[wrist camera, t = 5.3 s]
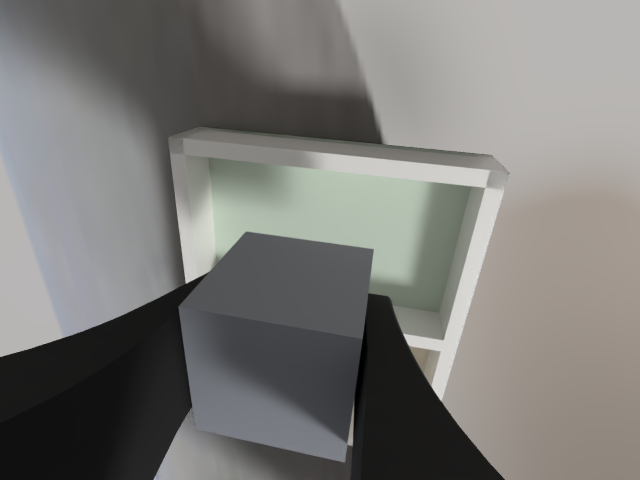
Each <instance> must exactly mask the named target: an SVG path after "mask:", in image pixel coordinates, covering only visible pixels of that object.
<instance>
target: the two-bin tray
mask: <svg viewBox="0 0 640 480" xmlns="http://www.w3.org/2000/svg"><path fill="white" fill-rule="evenodd" d="M168 142H169V151H170V159H171V167H172V175H173V183H174V191H175V199H176V208H177V216H178V224H179V232H180V240H181V248H182V256H183V264H184V273H185V281H186V284H187V283H188V282H190V281H192V280H194V279H196V278H198V277H200V276H202V275H204V274H206V273H208V272H210V271H211V270H212V269H213V268H214V266H215V265H216V264H217V263H218V262H219V261H220V260H221V259H222V258H223V256H224V255H225V254H226V253H227V252H228V251H229V250H230V249H231V247H232V246H233V245H234V244H235V243H236V242H237V241H238V240H239V239H240V237H241V236H242V235H243V234H244V233H245V232H246V231H247V232H254V233H261V234H269V235H276V236H283V237H290V238H297V239H305V240H312V241H319V242H326V243H333V244H341V245H348V246H355V247H362V248H369V249H374V252H373V260H372V268H371V276H370V284H369V292H368V293H371V294H377V295H384V296H388V297H389V298H390V299H391V301H392V305H393V309H394V312H395V315H396V318H397V320H398V323H399V325H400V328H401V330H402V332H403V335H404V337H405V339H406V341H407V343H408V345H409V347H410V349H411V352H412V353H413V355H414V357H415V359H416V361H417V363H418V365H419V366H420V368H421V370H422V372H423V373H424V375H425V377H426V379H427V380H428V382H429V383H430V385H431V387H432V388H433V390H434V391H435V393H436V394H437V396H438V397H439V399H440V400H441V401H442V398H443V395H444V391H445V388H446V384H447V381H448V378H449V374H450V371H451V367H452V364H453V361H454V357H455V354H456V351H457V347H458V344H459V340H460V337H461V334H462V331H463V327H464V323H465V320H466V317H467V314H468V310H469V307H470V304H471V300H472V297H473V293H474V290H475V287H476V283H477V280H478V276H479V273H480V270H481V267H482V263H483V260H484V257H485V253H486V250H487V246H488V243H489V240H490V236H491V233H492V229H493V226H494V223H495V219H496V216H497V213H498V209H499V206H500V203H501V199H502V196H503V192H504V189H505V186H506V182H507V179H508V175H509V171H508V170H507V169H506V168H505V167H504V166H502V165H501V164H500V163H499V162H498V161H497V160H496V159H495V158H494V157H493V156H492V155H485V154H475V153H464V152H454V151H444V150H434V149H424V148H414V147H403V146H393V145H383V144H373V143H363V142H353V141H342V140H332V139H322V138H312V137H301V136H291V135H281V134H271V133H261V132H250V131H240V130H230V129H220V128H209V127H197V128H194V129H191V130H188V131H185V132H181V133H178V134H175V135H172V136H169V137H168ZM353 422H354V403H353V410H352V417H351V423H350V430H349V437H348V444H347V445H349V446H353Z"/></svg>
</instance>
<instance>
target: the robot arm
mask: <svg viewBox="0 0 640 480" xmlns="http://www.w3.org/2000/svg"><path fill="white" fill-rule="evenodd" d="M208 273H209V272H208ZM208 273H206V274H204V275H202V276H200V277H198V278H196V279H194V280H192V281H190V282H188V283H187V284H185V285H183V286H181V287H179V288H177V289H175V290H173V291H171V292H169V293H167V294H166V295H164V296H162V297H160V298H158V299H156V300H154V301H152V302H150V303H147V304H145V305H143V306H141V307H139V308H137V309H135V310H133V311H131V312H128V313H126V314H124V315H122V316H120V317H118V318H115V319H113V320H110V321H108V322H106V323H103V324H101V325H98V326H96V327H93V328H90V329H88V330H85V331H83V332H80V333H77V334H74V335H71V336H68V337H65V338H62V339H59V340H56V341H53V342H50V343H47V344H43V345H41V346H37V347H35V348H32V349H28V350H24V351H21V352H17V353H13V354H10V355H6V356H3V357H0V480H156V474H157V471H158V469H159V467H160V465H161V463H162V461H163V459H164V457H165V455H166V453H167V451H168V449H169V447H170V445H171V443H172V441H173V439H174V437H175V435H176V433H177V431H178V429H179V427H180V426H181V424H182V422H183V420H184V419H185V417H186V415H187V414H188V412H189V410H190V409H191V407H192V401H191V394H190V387H189V379H188V372H187V365H186V358H185V351H184V344H183V336H182V329H181V322H180V315H179V308H178V307H179V305H180V304H181V303H182V302H183V301H184V300H185V299H186V298H187V297H188V295H189V294H190V293H191V292H192V291H193V290H194V289H195V288H196V287H197V285H198V284H199V283H200V282H201V281H202V280H203V279H204V278H205V276H206V275H207V274H208ZM350 480H505V479H504V478H503V477H502V476H501V475H500V474H499V473H498V472H497V471H496V469H494V467H493V466H492V465H491V464H490V463H489V462H488V461H487V459H486V458H485V457H484V456H483V455H482V453H481V452H480V451H479V450H478V449H477V447H476V446H475V445H474V444H473V443H472V441H471V440H470V439H469V438H468V436H467V435H466V434H465V433H464V432H463V430H462V429H461V428H460V427H459V425H458V424H457V423H456V421H455V420H454V419H453V417H452V416H451V414H450V413H449V412H448V410H447V409H446V408H445V406H444V405H443V403H442V402H441V400H440V399H439V397H438V396H437V394H436V393H435V391H434V390H433V388H432V387H431V385H430V383H429V382H428V380H427V379H426V377H425V375H424V373H423V372H422V370H421V368H420V366H419V365H418V363H417V361H416V359H415V357H414V355H413V353H412V352H411V349H410V347H409V345H408V343H407V341H406V339H405V337H404V335H403V332H402V330H401V328H400V325H399V323H398V320H397V318H396V315H395V312H394V309H393V305H392V301H391V299H390V298H389V297H388V296H384V295H377V294H371V293H368V300H367V308H366V316H365V324H364V332H363V340H362V347H361V354H360V361H359V368H358V375H357V382H356V389H355V396H354V422H353V453H352V468H351V479H350Z"/></svg>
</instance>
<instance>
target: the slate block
mask: <svg viewBox="0 0 640 480" xmlns="http://www.w3.org/2000/svg"><path fill="white" fill-rule="evenodd" d="M373 252H374V249H369V248H362V247H355V246H348V245H341V244H333V243H326V242H319V241H312V240H305V239H297V238H290V237H283V236H276V235H269V234H261V233H254V232H247V231H246V232H245V233H244V234H243V235H242V236H241V237H240V239H239V240H238V241H237V242H236V243H235V244H234V245H233V246H232V247H231V249H230V250H229V251H228V252H227V253H226V254H225V255H224V256H223V258H222V259H221V260H220V261H219V262H218V263H217V264H216V265H215V266H214V268H213V269H212V270H211V271H210V272H209V273H208V274H207V275H206V276H205V278H204V279H203V280H202V281H201V282H200V283H199V284H198V285H197V287H196V288H195V289H194V290H193V291H192V292H191V293H190V294H189V295H188V297H187V298H186V299H185V300H184V301H183V302H182V303H181V304H180V305H179V307H178V308H179V315H180V322H181V329H182V336H183V344H184V351H185V358H186V365H187V372H188V379H189V387H190V394H191V401H192V408H193V415H194V422H195V429H197V430H201V431H206V432H210V433H215V434H219V435H224V436H228V437H233V438H237V439H241V440H246V441H250V442H255V443H259V444H264V445H268V446H273V447H277V448H282V449H286V450H291V451H295V452H300V453H304V454H309V455H313V456H318V457H322V458H326V459H331V460H335V461H340V462H344V463H345V458H346V451H347V444H348V437H349V430H350V423H351V417H352V410H353V403H354V396H355V389H356V382H357V375H358V368H359V361H360V354H361V347H362V340H363V332H364V324H365V316H366V308H367V300H368V292H369V284H370V276H371V268H372V260H373Z"/></svg>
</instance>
